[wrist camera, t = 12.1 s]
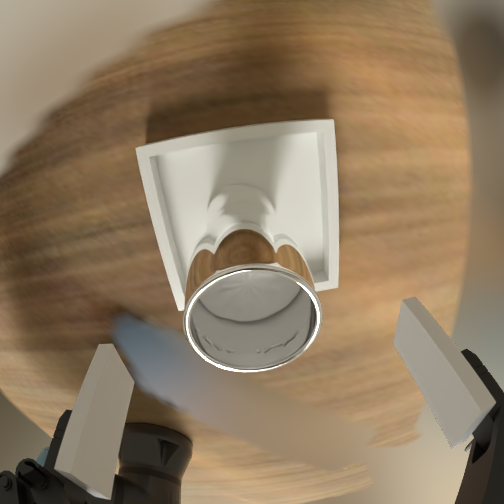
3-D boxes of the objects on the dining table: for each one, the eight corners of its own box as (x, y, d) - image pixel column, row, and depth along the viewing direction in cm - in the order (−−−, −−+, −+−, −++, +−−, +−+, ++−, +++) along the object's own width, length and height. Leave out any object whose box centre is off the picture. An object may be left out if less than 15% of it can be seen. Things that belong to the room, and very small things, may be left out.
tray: (182, 293, 31) (178, 310, 29) (145, 144, 24) (135, 148, 21) (329, 272, 31) (338, 287, 29) (322, 118, 24) (333, 119, 21)
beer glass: (192, 190, 25) (153, 284, 12) (269, 169, 25) (317, 242, 12) (215, 258, 28) (207, 385, 15) (286, 240, 28) (332, 357, 15)
